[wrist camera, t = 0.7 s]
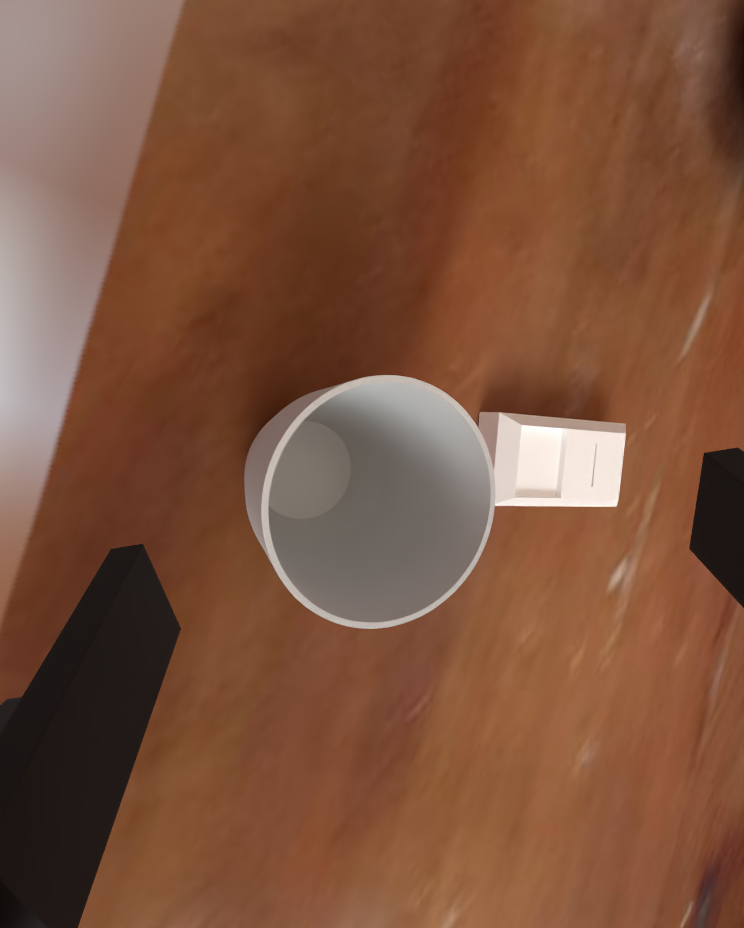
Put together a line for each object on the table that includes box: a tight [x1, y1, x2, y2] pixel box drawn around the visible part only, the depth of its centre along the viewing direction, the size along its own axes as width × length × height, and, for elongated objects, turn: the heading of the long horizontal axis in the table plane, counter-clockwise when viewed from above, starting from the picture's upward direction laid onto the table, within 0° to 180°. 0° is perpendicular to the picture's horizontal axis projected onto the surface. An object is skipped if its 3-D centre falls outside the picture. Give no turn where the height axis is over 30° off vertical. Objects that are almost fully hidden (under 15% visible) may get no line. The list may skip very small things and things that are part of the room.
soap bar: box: [478, 412, 626, 507], centre depth 31 cm, size 5×9×3 cm, turn 85°
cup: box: [244, 375, 495, 629], centre depth 22 cm, size 8×8×10 cm
